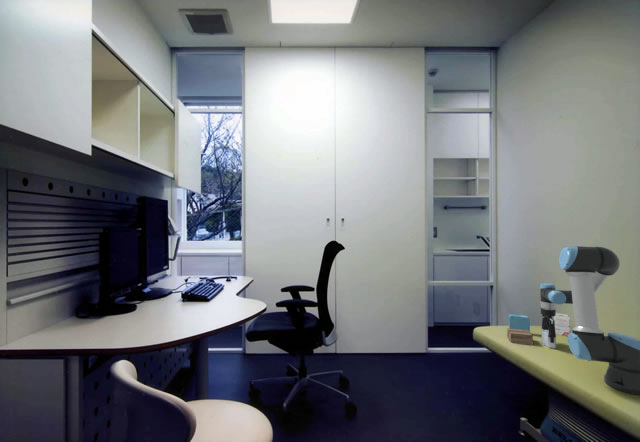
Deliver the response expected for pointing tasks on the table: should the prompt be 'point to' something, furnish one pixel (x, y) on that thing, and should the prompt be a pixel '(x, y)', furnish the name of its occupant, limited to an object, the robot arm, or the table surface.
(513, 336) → the walnut block
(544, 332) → the medicine box
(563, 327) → the ink cartridge box
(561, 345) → the table surface
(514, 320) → the data package
